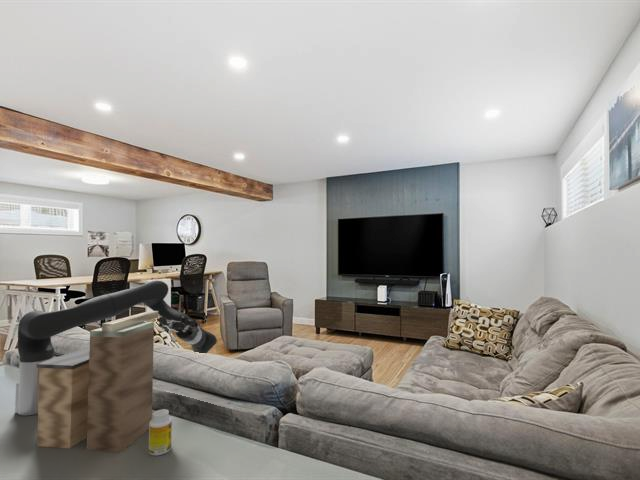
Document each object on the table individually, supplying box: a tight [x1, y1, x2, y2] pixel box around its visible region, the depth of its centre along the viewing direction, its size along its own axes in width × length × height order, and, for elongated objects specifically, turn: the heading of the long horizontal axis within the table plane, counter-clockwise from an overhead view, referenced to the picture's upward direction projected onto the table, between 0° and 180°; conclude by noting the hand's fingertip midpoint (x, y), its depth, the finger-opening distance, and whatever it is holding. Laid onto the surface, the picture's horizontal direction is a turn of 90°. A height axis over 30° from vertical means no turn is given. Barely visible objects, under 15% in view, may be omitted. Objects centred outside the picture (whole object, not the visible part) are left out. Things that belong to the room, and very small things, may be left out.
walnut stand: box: [86, 321, 155, 453], centre depth 102 cm, size 10×14×32 cm
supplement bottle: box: [148, 408, 173, 456], centre depth 95 cm, size 6×6×10 cm
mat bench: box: [36, 347, 90, 449], centre depth 105 cm, size 11×17×22 cm, turn 173°
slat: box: [101, 310, 159, 331], centre depth 107 cm, size 3×22×2 cm, turn 173°
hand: (171, 319), depth 128 cm, fingers open, 8 cm apart
